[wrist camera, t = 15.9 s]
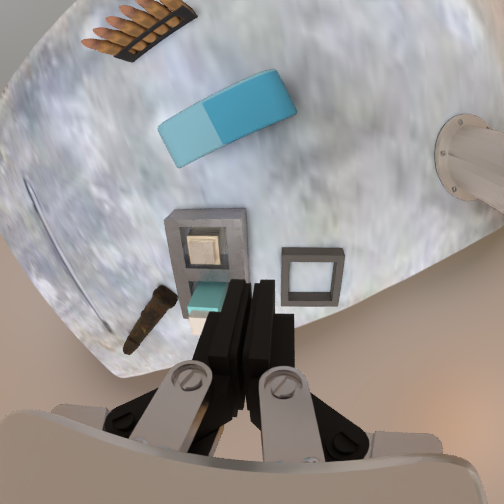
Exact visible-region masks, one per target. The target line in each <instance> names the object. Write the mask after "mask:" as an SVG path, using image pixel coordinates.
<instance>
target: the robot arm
mask: <svg viewBox="0 0 504 504" xmlns="http://www.w3.org/2000/svg"><path fill="white" fill-rule="evenodd" d="M440 152H441V153H440ZM435 163H436V169H437V173H438V176H439V178H440V180H441V182H442V184H443V186H444V187H445V188H446V189H447V191H448V192H450V193H451V194H452V195H453V196H455V197H457V198H459V199H461V200H464V201H473V200H477V199H480V200H482V201H483V202H485V203H487V204H488V205H490V206H491V207H493V208H494V209H496V210H497V211H499V212H500V213H502V214H503V215H504V133H503V132H499V131H495V130H492V129H491V127H490V126H489V125H488V124H487V123H486V122H485V121H484V120H482V119H481V118H479V117H477V116H474V115H469V114H461V115H457V116H455V117H453V118H451V119H450V120H449V121H448V122H447V123H446V124H445V125H444V127H443V128H442V129H441V132H440V134H439V136H438V139H437V143H436V149H435ZM294 355H295V351H294V314H275V280H260V283H255V285H254V291H253V297H252V291H251V283H246V280H245V279H231V280H230V283H229V287H228V290H227V293H226V296H225V300H224V303H223V306H222V310H221V312H217V311H210V312H209V313H208V316H207V318H206V321H205V324H204V327H203V330H202V333H201V335H200V338H199V341H198V344H197V347H196V350H195V353H194V356H193V359H192V360H189V361H183V362H180V363H178V364H176V365H175V366H173V367H172V368H171V369H170V371H169V372H168V374H167V375H166V377H165V379H164V380H163V382H162V384H161V385H160V387H159V388H157V389H155V390H153V391H151V392H149V393H146V394H144V395H142V396H140V397H138V398H136V399H134V400H132V401H129V402H127V403H125V404H123V405H120V406H118V407H116V408H115V409H113V410H112V411H111V410H108V409H107V408H103V407H90V406H80V405H71V404H60V405H58V406H56V407H55V408H54V409H53V410H52V411H51V413H50V412H46V411H40V410H18V411H13V412H11V413H9V414H8V415H6V416H5V417H4V418H3V419H2V420H1V422H0V504H488V502H487V498H486V494H485V491H484V487H483V484H482V481H481V479H480V476H479V474H478V472H477V470H476V469H475V467H474V466H473V465H472V464H471V463H470V462H469V461H467V460H465V459H463V458H461V457H457V456H454V455H448V454H443V447H442V443H441V441H440V440H439V438H438V437H436V436H434V435H433V434H428V433H400V432H384V431H375V433H366V432H364V431H363V430H362V429H361V428H360V427H358V426H357V425H355V424H353V423H352V422H351V421H349V420H348V419H346V418H345V417H344V416H342V415H341V414H339V413H338V412H337V411H335V410H334V409H332V408H331V407H330V406H328V405H327V404H326V403H324V402H323V401H321V400H320V399H319V398H317V397H316V396H315V395H313V394H312V393H311V392H310V389H309V385H308V381H307V379H306V376H305V375H304V374H303V373H302V372H301V371H299V370H297V369H296V368H295V359H294V357H295V356H294ZM245 396H246V402H247V410H250V419H251V422H252V423H253V424H254V425H255V426H256V427H257V428H259V430H260V431H261V441H262V455H263V462H256V461H244V460H232V459H224V458H216V457H213V455H214V453H215V450H216V448H217V445H218V442H219V440H220V438H221V435H222V433H223V430H224V424H226V423H227V422H229V421H231V420H232V417H237V412H238V410H243V408H244V402H245Z"/></svg>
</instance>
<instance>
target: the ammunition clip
mask: <svg viewBox="0 0 504 504" xmlns="http://www.w3.org/2000/svg"><path fill="white" fill-rule="evenodd" d="M135 1H136V2H137V3H138V4H139V5H140V6H142V7H143V8H144V9H145V10H146V11H147V12H148V13H150V14H148V13H147V12H145V11H141V10H138V9H136V8H134V7H131V6H126V5H122V6H119V9H120V11H121V12H122V13H123V14H124V15H125V16H127V17H129V18H130V19H132V20H133V21H134V22H133V21H130V20H125V19H122V18H119V17H113V16H110V17H106V21H107V22H108V23H109V24H110V25H111V26H113V27H116V28H117V29H119V30H121V31H119V30H112V29H108V28H95V29H93V32H94V33H95V34H96V35H98V36H99V37H102V38H105V39H107V40H99V39H84V40H82V41H81V43H82V44H83V45H84V46H86V47H88V48H91V49H95V50H98V51H99V52H102V53H106V54H111V55H114V57H115V58H119V59H122V60H125V61H128V62H134V61H135V60H137V59H138V58H139V57H140V56H142V55H143V54H144V53H146V52H147V51H148V50H150V49H151V48H152V47H154V46H155V45H156V44H158V43H159V42H160V41H162V40H163V39H165V38H166V37H168V36H169V35H170V34H172V33H173V32H175V31H176V30H178V29H179V28H181V27H183V26H184V25H186V24H187V23H189V22H190V21H192V20H194V19H195V18H197V17H198V16H197V15H196V13H195V12H194V11H193V9H192V8H191V7H189V6H188V5H187V4H186V3H184V2H183V1H182V0H160V2H161V3H162V4H164V5H162V4H160V3H159V2H157V1H154V0H135ZM167 8H169V9H170V10H171V11H173V12H171V11H170V10H169V9H167ZM155 17H156V18H155ZM157 18H158V19H157Z"/></svg>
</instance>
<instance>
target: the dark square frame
mask: <svg viewBox="0 0 504 504" xmlns="http://www.w3.org/2000/svg"><path fill="white" fill-rule="evenodd" d="M344 259H345V255H344V252H343V249H342V248H282V269H281V306H306V307H325V306H338V302H339V296H340V289H341V282H342V275H343V267H344ZM289 262H334V266H333V274H332V283H331V291H330V292H288V284H289Z"/></svg>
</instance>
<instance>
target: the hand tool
mask: <svg viewBox="0 0 504 504" xmlns="http://www.w3.org/2000/svg"><path fill="white" fill-rule="evenodd" d="M177 301H178V299H177V296H176V294H175V293H173V292H172V291H171V290H169V289H168V288H166V287H164V286H159V287H158V288H157V289H155V290H154V292H153V297H152V299H151V301H150V302H149V303H148V305H147V306H146V307H145V309H144V310H143V311H142V312H141V317H140V318H139V320H138V321H137V323H136V325H135V326H134V328H133V329H132V331H131V333H130V335H129V336H128V338H127V340H126V342H125V344H124V347H123V352H124V354H128V355H130V354H132V353H133V352H134V351H135V350H136V349H137V348H138V347H139V345H140V343H141V342H142V341H143V340H144V338H145V337H146V336H147V335H148V333H149V332H150V331H151V330H152V329H153V328H154V326H155V325H156V324H157V323H158V321H159V320H160V319H161V318H162V317H163V315H164V314H165V313H166V311H167V310H168V309H169V308H172V307H173V306H175V304H176V302H177Z"/></svg>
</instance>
